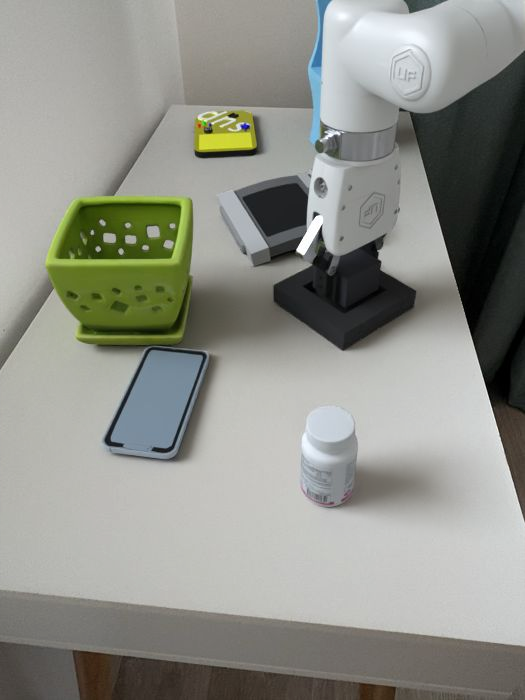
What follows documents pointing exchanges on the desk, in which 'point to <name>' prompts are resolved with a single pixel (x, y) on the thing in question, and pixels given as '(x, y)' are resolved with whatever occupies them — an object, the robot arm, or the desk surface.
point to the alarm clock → (267, 215)
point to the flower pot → (125, 269)
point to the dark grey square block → (355, 276)
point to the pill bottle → (328, 456)
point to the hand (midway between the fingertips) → (345, 284)
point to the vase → (317, 71)
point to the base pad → (336, 319)
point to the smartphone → (157, 403)
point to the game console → (224, 134)
